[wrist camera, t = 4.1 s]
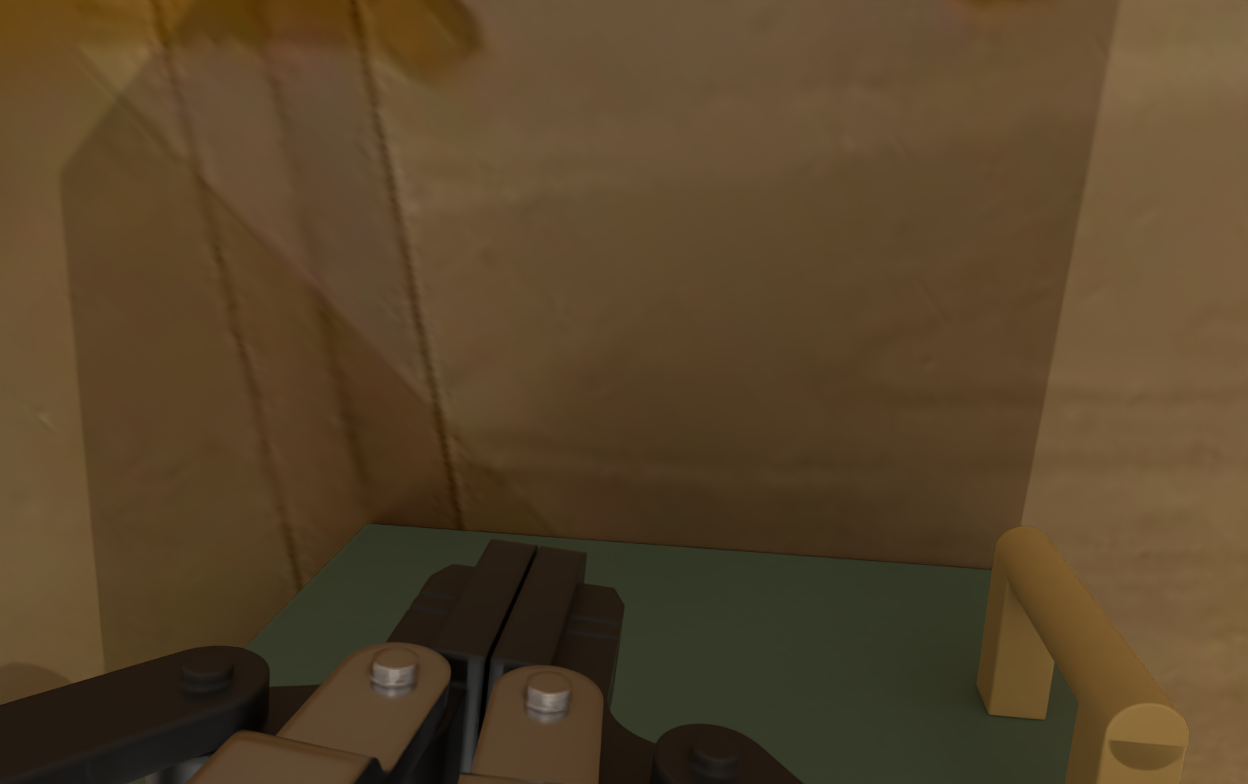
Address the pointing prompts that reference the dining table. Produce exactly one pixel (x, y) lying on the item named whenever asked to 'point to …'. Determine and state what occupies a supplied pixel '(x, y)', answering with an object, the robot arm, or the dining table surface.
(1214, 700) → the dining table surface
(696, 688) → the door
